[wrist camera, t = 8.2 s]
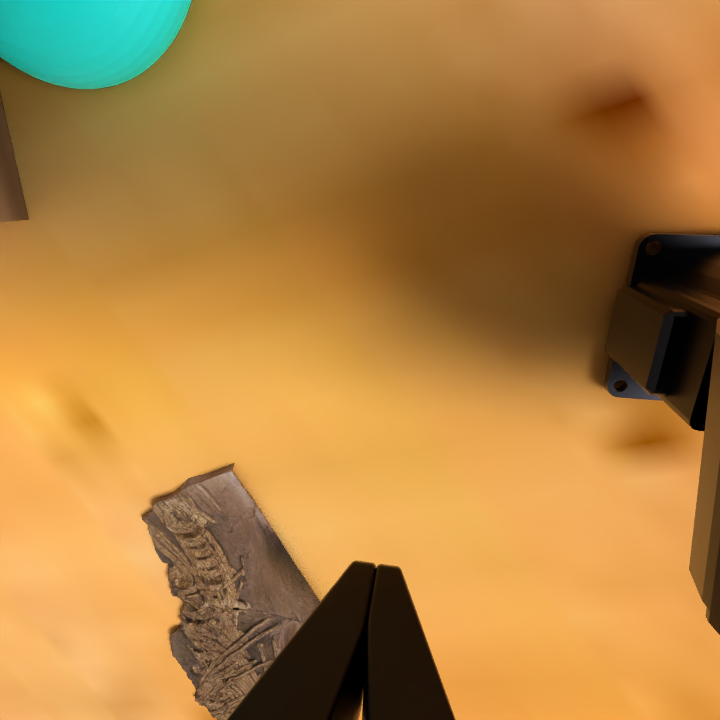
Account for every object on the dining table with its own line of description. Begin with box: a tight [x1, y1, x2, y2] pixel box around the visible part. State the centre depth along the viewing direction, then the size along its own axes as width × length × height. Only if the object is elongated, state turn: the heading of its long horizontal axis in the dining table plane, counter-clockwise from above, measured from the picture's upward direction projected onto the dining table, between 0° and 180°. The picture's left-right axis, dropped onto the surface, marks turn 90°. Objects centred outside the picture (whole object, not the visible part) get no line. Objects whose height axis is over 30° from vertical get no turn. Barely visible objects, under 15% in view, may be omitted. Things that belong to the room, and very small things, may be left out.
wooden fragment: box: [142, 463, 320, 720], centre depth 28 cm, size 26×11×1 cm, turn 2°
